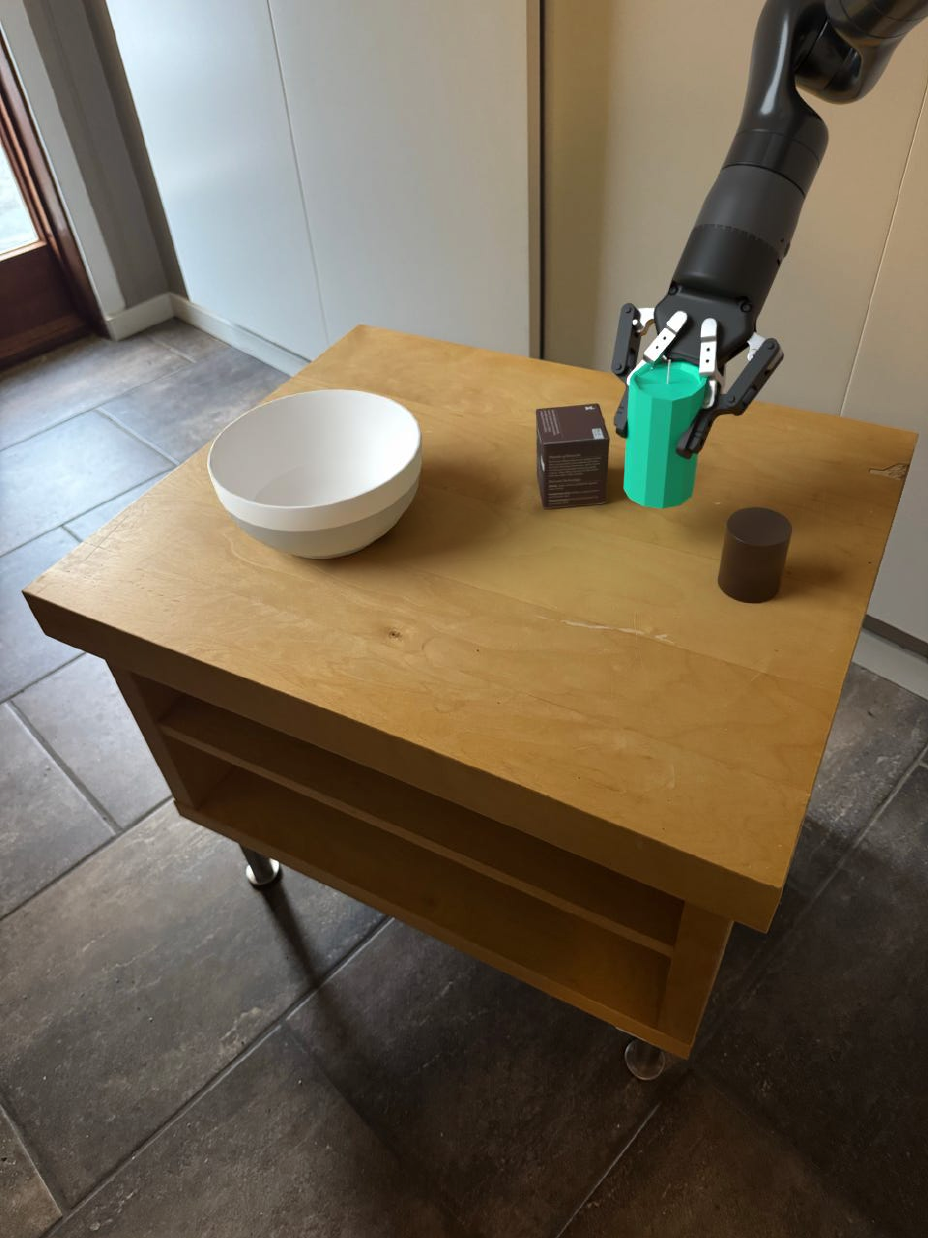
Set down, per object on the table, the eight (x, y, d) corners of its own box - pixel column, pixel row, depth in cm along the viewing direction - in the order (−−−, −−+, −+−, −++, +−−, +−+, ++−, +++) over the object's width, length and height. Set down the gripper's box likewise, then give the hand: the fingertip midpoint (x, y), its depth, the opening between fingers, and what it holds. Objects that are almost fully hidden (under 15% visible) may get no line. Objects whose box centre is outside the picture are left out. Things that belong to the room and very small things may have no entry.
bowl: (386, 605, 79) (372, 523, 73) (192, 570, 84) (164, 491, 78) (457, 479, 91) (450, 400, 85) (286, 455, 97) (268, 379, 91)
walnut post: (792, 582, 77) (805, 524, 73) (756, 611, 75) (768, 554, 71) (741, 555, 80) (751, 499, 76) (705, 584, 78) (713, 527, 74)
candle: (705, 478, 81) (721, 350, 72) (677, 516, 77) (691, 386, 69) (641, 460, 83) (649, 335, 75) (611, 496, 80) (617, 369, 71)
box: (536, 473, 91) (534, 407, 86) (597, 468, 91) (599, 401, 86) (543, 510, 87) (542, 443, 82) (607, 504, 87) (610, 437, 82)
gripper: (642, 205, 74) (559, 408, 76) (818, 238, 67) (722, 460, 69) (669, 248, 80) (592, 434, 82) (832, 282, 74) (744, 484, 75)
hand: (652, 445), depth 75 cm, fingers closed on candle, 5 cm apart
